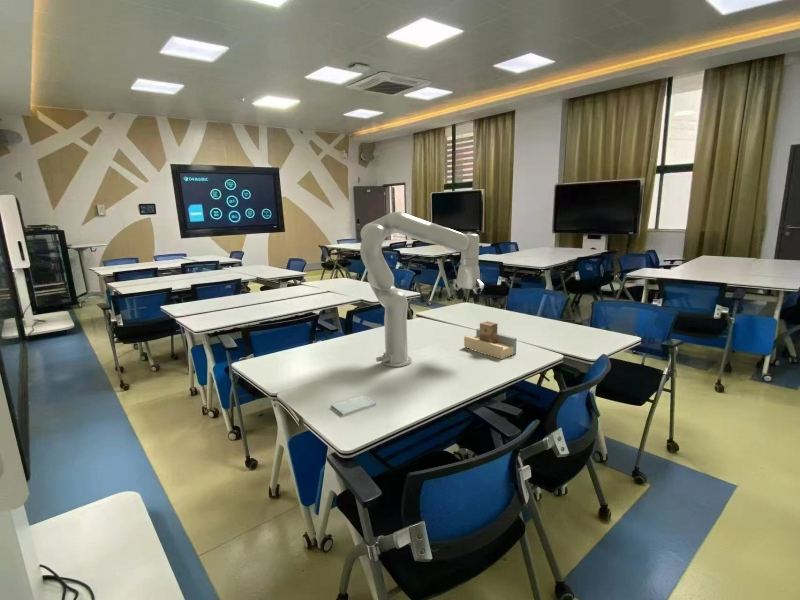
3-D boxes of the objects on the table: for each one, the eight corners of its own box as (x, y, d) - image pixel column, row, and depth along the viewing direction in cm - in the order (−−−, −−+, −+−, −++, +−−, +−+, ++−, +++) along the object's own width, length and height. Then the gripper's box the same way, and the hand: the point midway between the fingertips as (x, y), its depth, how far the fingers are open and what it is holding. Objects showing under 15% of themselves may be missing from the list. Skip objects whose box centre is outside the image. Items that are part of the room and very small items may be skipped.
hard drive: (342, 413, 128) (375, 402, 135) (330, 404, 134) (362, 394, 142) (342, 418, 128) (375, 406, 135) (331, 409, 135) (363, 398, 142)
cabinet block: (488, 345, 181) (488, 326, 179) (478, 342, 186) (478, 323, 184) (497, 342, 185) (497, 323, 183) (487, 340, 189) (487, 321, 188)
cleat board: (500, 359, 175) (501, 342, 173) (464, 347, 192) (464, 332, 191) (516, 354, 181) (516, 337, 179) (479, 343, 198) (479, 328, 197)
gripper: (449, 261, 182) (448, 298, 185) (478, 264, 168) (476, 304, 172) (461, 260, 186) (460, 297, 190) (490, 263, 173) (488, 303, 176)
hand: (468, 300), depth 181 cm, fingers open, 9 cm apart
